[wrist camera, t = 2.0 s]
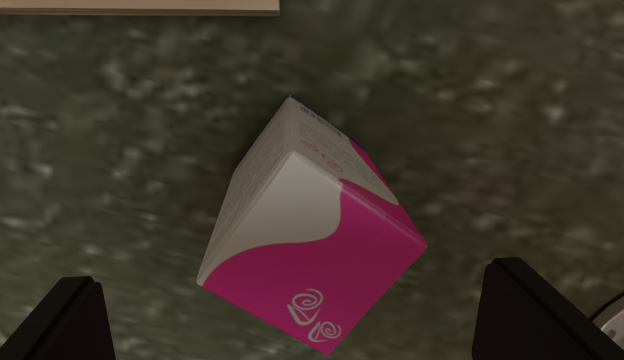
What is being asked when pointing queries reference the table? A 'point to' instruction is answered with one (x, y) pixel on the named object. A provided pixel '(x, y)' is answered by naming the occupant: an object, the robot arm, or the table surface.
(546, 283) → the robot arm
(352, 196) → the supplement box
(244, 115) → the table surface
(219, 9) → the birch plinth
